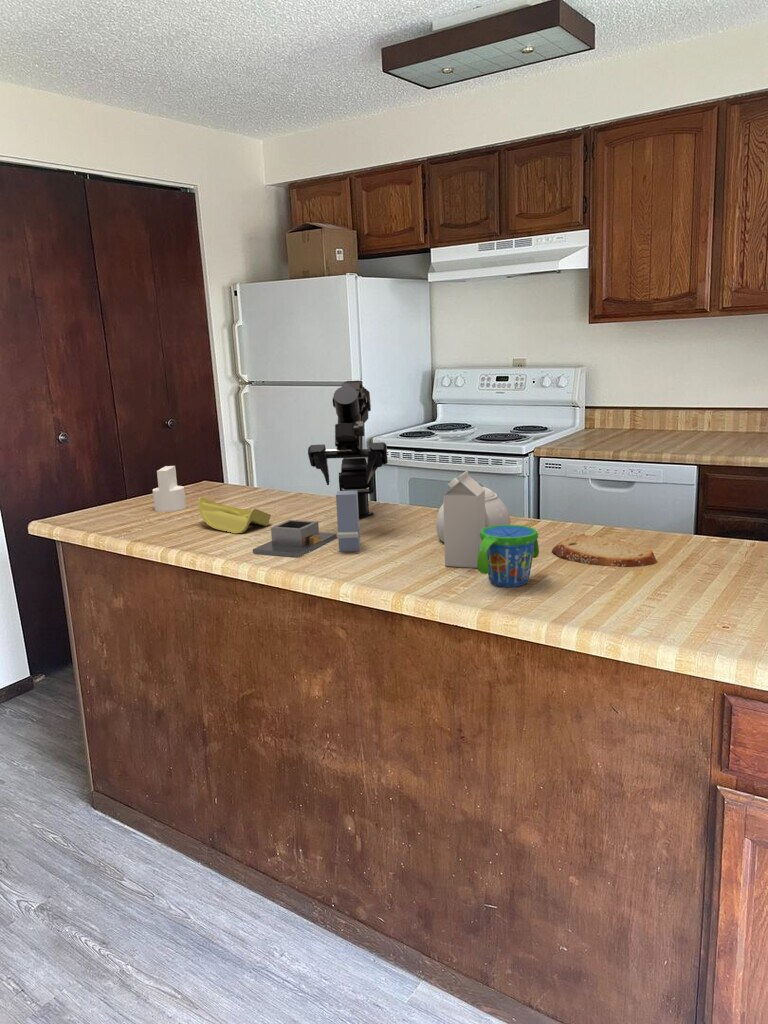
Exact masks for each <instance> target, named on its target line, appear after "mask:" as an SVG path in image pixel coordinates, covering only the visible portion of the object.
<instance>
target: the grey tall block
mask: <svg viewBox="0 0 768 1024" xmlns="http://www.w3.org/2000/svg"><path fill="white" fill-rule="evenodd" d="M335 500H336V517H337V518H336V520H337V533H336V534H337V538H336V539H338V541H337V542H338V552H360V548H361V536H360V535H361V533H360V529H361V524H360V518H359V512H358V492H357V490H354V491H340V490H337V491H336V493H335Z"/></svg>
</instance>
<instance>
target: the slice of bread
mask: <svg viewBox="0 0 768 1024" xmlns="http://www.w3.org/2000/svg"><path fill="white" fill-rule="evenodd" d="M552 553H553V555H556V556H558V557H559V558H560V557H561V559H563V560H566V561H569V562H574V563H579V564H586V565H592V566H593V565H595V566H603V567H614V568H616V567H617V568H618V567H619V568H620V567H621V568H634V567H635V568H636V567H637V568H638V567H645V566H652V565H654V564H655V565H656V564H657V563H658V562H657V558H656V556H655V554H654V552H653V551H652V550H651V548H648V547H644V546H642V545H639V544H633V543H631V542H626V541H623V540H622V541H621V540H617V539H611V538H604V537H598V536H595V535H594V536H593V535H591V534H590V535H589V534H585V533H581V534H579V535H574V536H571V537H568V538H566V539H564V540H562V541H560V542H559V543H557V544H556V545H555V546H554V547H553V548H552V549H551V554H552Z"/></svg>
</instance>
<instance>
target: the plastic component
mask: <svg viewBox="0 0 768 1024" xmlns="http://www.w3.org/2000/svg"><path fill="white" fill-rule="evenodd" d="M197 506H198V512H199V514H200V516H201V519H202V520H203V521H204V522H205V524H207V525H208V527H211V528H213V529H216V530H219V531H222V532H226V531H227V533H230V532H231V533H232V534H235V533H241V534H243V533H244V532H246V531H247V530H248V527H249V525H250V524H253V525H257V524H258V526H262V525H263V527H268V526H267V525H269V523H270V520H271V516H272V515H271V514H270V513H267V512H264V511H261V510H259V509H257V508H251V510H247V509H244V508H240V507H235V506H231V505H227V504H222V503H219V502H216V501H214V500H213V501H212V500H209V499H207V498H204V497H202V496H201V497H198V499H197Z"/></svg>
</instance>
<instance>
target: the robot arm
mask: <svg viewBox="0 0 768 1024" xmlns="http://www.w3.org/2000/svg"><path fill="white" fill-rule="evenodd" d="M371 406H372V405H371V394H370V391H369V390H368V389H367V388H365V387H364V386H363V381H361V380H347V381H344V382H342V383H341V386H340V387H338V388H336V390H335V391H334V392H333V397H332V407H333V408H334V409H335V413H336V415H337V423H335V425H334V438H335V439H334V445H335V447H336V448H335V449H327V448H326V444H323V443H322V444H310V445H309V447H308V449H307V455H308V459H309V463H310V466H311V467H312V468H316V470H320V471H321V473H322V475H323V477H324V479H325V483H326V485H327V486H329V485H330V473H329V465H328V459H342V460H341V466H340V467H341V469H340V472H338V486H339V488H338V489H339V491H354V490H357V492H358V512H359V519H362V518H365V517H369V516H371V515H374V512H373V511H370V510H369V509H370V507H369V495H372V494H374V493H375V484H374V483H375V482H374V476H373V475H374V474H375V472H376V471H377V470H378V468H381V467H383V465H387V464H388V460H389V459H388V458H389V457H388V448H387V447H388V446H387V444H386V443H385V442H384V441H383V442H380V441H379V442H369V448H364V437H365V423H366V422H367V421H368V420H369V412H371V410H372V409H371V408H372V407H371Z"/></svg>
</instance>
